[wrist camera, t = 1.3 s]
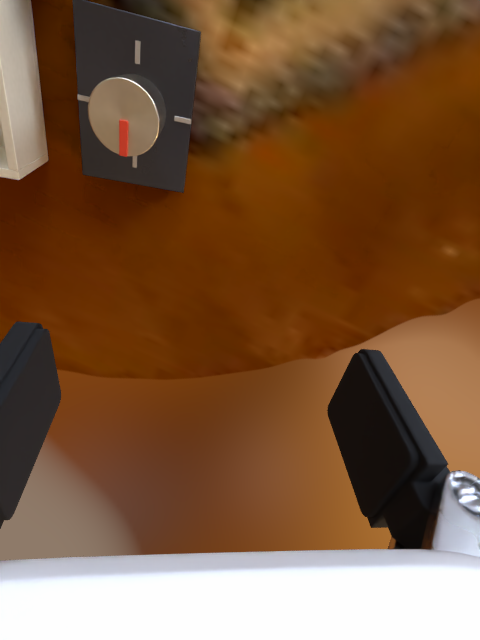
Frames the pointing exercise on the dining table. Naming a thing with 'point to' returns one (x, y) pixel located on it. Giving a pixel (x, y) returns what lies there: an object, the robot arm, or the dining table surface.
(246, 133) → the dining table surface
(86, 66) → the dial faceplate
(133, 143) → the dial knob
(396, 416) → the robot arm
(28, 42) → the white storage tray
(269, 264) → the dining table surface
